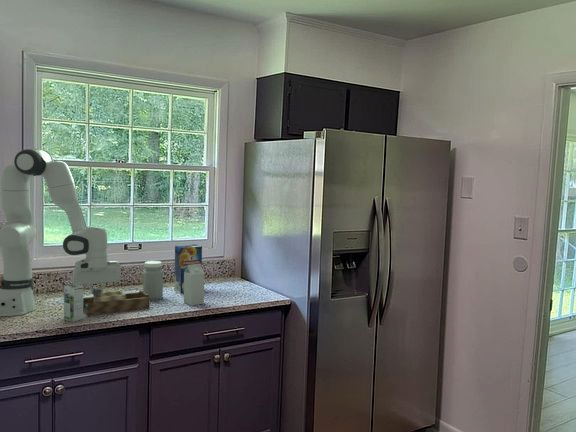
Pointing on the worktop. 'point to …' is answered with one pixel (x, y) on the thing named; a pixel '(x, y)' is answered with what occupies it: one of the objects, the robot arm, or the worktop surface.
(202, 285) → the milk carton
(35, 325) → the worktop surface
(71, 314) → the syrup box
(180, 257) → the juice carton
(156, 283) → the jar
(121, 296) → the drawer
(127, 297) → the bay
